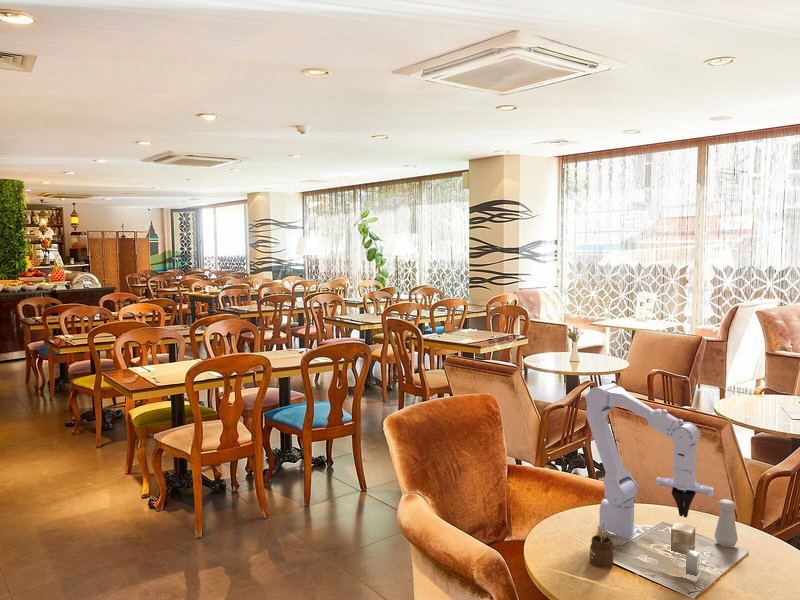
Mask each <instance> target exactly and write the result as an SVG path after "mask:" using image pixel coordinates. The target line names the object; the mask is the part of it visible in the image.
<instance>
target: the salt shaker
mask: <svg viewBox="0 0 800 600" xmlns="http://www.w3.org/2000/svg"><path fill="white" fill-rule="evenodd" d="M717 506H718V508H719V510H720V512H719V516H718V520H717V524H716V528H715V532H714V538H715V540H716V543H717V545H718V544H719V545H718V546H720V545H721V546H720V547H723V546H724V547H723V548H728V547H732V548H734V547H735V546H736V544H737V542H738V540H739V539H738V538H739V537H738V532H737V526H736V521H735V515H734V511H735V510H736V503H735V502H734V501H733V500H730V499H720V500H719V501H718V504H717ZM733 546H734V547H733Z"/></svg>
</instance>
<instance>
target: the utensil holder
mask: <svg viewBox="0 0 800 600" xmlns="http://www.w3.org/2000/svg"><path fill="white" fill-rule="evenodd" d="M600 523H601V522H600ZM606 525H607V524H606ZM606 525H605V526H606ZM597 529H598V530H597V531H598V532H597V533H598V534H597V535H593V536H592V537H591V544H590V546H589V547H590V548H589V561H590V562H589V563H590V564H591V565H592V566H593V567H595V568H598V569H599V568H600V569H609V568H612V567H613V564H614V548H613V546H612V545H613V541H612V539H611V538H610V537H609V536H607V533H605V527H604V526H603V528H602V526H601V532H600V526H599V523H598V525H597Z"/></svg>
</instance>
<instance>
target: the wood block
mask: <svg viewBox="0 0 800 600" xmlns="http://www.w3.org/2000/svg"><path fill="white" fill-rule="evenodd" d="M670 540H671V551H674V552H678V553H681V554H685V555H686V553H687V551H688V550H692V551H694V549H695V547H696V526H694V525H691V524H686V523H680V522H677V521H676V522H674V523H673V525H672V526H671V528H670Z"/></svg>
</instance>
